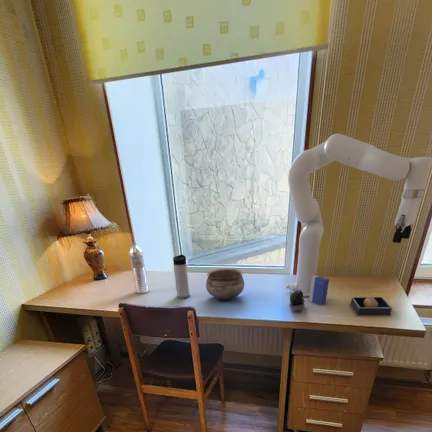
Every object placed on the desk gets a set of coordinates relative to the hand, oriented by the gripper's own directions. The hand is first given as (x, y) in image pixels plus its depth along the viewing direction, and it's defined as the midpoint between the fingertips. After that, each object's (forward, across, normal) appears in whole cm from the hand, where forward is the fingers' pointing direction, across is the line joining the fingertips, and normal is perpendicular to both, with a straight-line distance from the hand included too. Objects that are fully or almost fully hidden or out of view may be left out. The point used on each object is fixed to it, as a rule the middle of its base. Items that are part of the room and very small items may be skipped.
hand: (400, 240), depth 141 cm
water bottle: (+26, +65, -104) cm, 126 cm away
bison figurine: (-1, +16, -46) cm, 49 cm away
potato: (+26, +17, 0) cm, 31 cm away
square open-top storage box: (+26, +17, 0) cm, 31 cm away
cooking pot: (+26, +45, -62) cm, 81 cm away
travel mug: (+26, +56, -81) cm, 102 cm away
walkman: (+26, +23, -23) cm, 42 cm away
